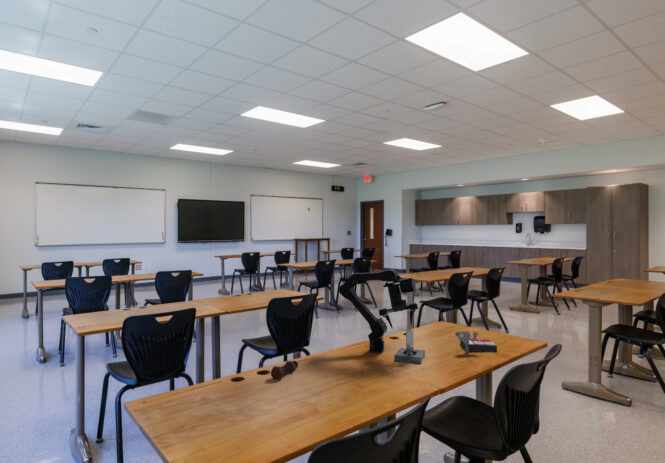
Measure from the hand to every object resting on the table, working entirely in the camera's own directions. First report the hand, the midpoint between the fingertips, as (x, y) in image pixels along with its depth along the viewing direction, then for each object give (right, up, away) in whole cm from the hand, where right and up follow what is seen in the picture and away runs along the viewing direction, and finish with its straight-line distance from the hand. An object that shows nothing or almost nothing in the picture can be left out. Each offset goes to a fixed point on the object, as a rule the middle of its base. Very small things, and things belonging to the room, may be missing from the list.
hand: (401, 327), depth 191 cm
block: (+3, -13, -6) cm, 15 cm away
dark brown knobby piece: (-53, -14, -25) cm, 60 cm away
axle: (+3, -13, -6) cm, 15 cm away
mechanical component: (+32, -13, +1) cm, 34 cm away
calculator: (+40, -13, +8) cm, 43 cm away
